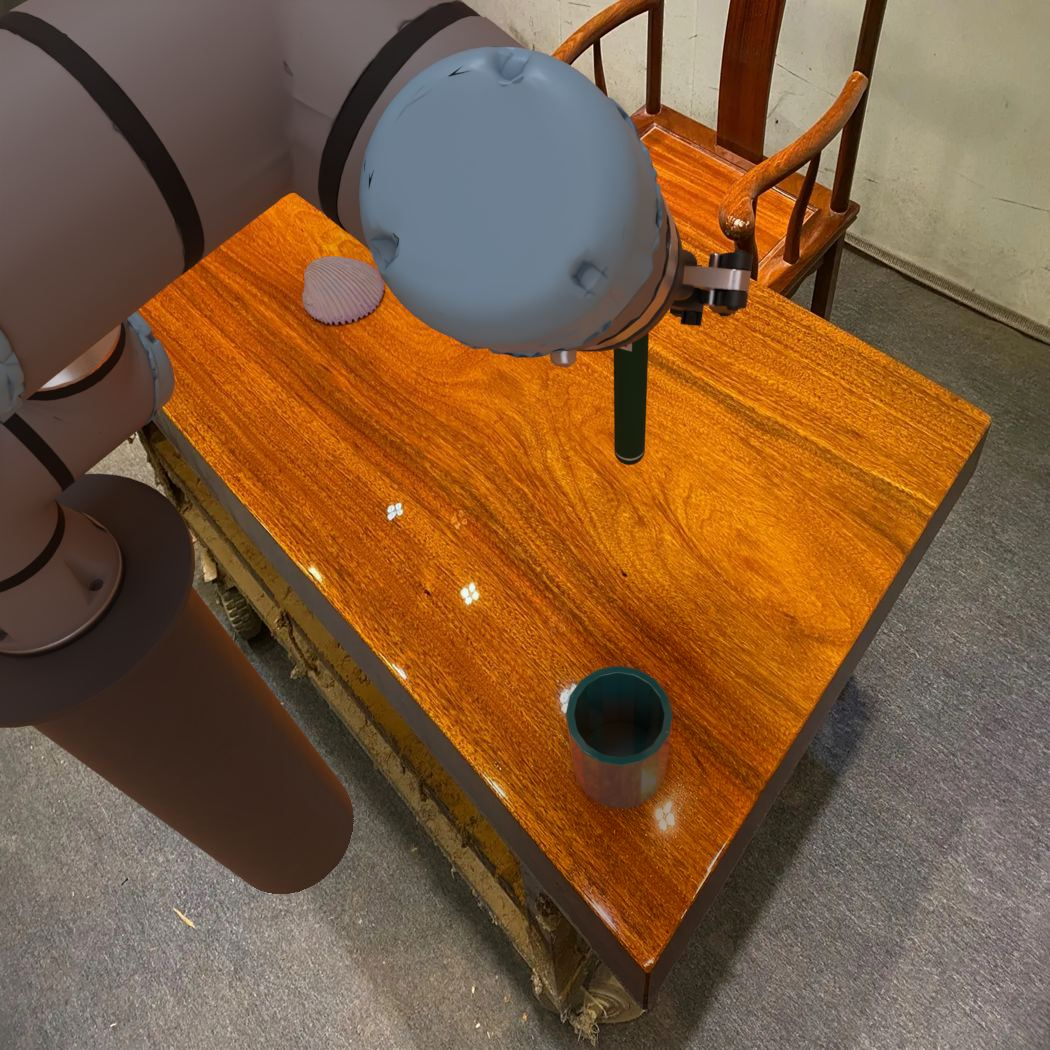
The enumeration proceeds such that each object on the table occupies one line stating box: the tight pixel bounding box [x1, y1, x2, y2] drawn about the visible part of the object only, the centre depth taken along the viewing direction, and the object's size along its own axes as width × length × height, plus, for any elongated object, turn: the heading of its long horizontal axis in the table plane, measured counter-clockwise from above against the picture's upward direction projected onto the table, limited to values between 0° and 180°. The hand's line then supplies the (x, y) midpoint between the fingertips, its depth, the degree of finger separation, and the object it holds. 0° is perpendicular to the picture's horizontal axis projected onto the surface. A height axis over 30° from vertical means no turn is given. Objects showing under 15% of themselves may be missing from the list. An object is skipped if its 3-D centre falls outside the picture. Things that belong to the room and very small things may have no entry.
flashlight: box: [613, 332, 650, 466], centre depth 60 cm, size 5×5×20 cm
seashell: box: [301, 256, 386, 326], centre depth 109 cm, size 10×6×10 cm
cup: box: [565, 665, 674, 809], centre depth 72 cm, size 8×8×10 cm
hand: (639, 292), depth 60 cm, fingers closed on flashlight, 5 cm apart
